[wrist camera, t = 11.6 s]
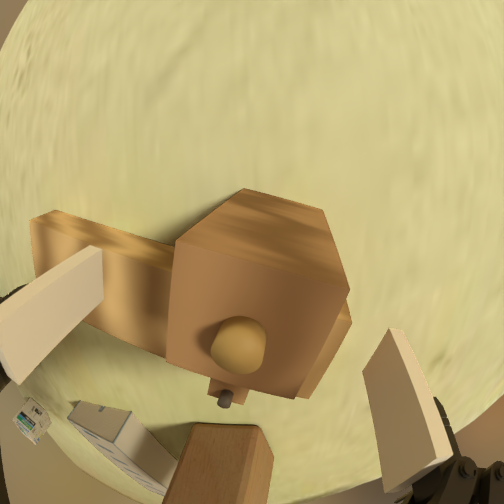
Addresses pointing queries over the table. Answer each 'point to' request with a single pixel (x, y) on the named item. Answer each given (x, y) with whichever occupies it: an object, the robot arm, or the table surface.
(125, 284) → the plank
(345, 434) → the table surface
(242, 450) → the wooden block
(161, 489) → the warehouse
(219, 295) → the wooden box
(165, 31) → the table surface
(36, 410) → the light bulb box
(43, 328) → the robot arm
